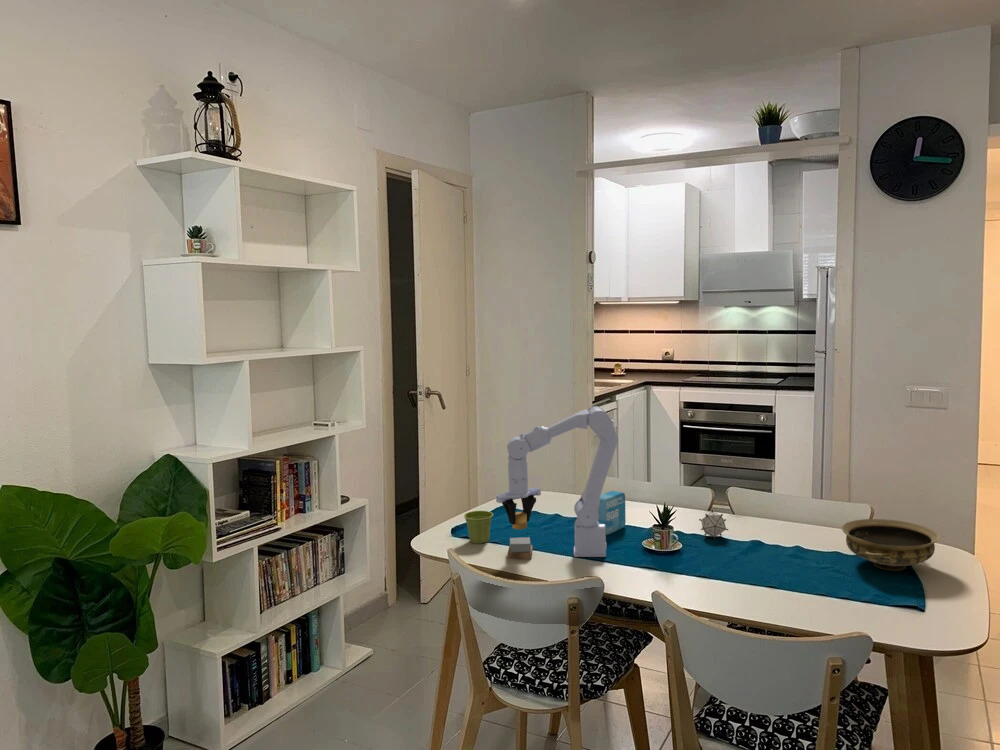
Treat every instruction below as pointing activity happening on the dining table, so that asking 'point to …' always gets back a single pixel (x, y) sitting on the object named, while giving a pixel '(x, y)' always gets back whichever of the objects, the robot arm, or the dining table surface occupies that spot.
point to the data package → (612, 511)
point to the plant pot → (478, 525)
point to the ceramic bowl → (890, 542)
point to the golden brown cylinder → (520, 520)
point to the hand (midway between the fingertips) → (519, 522)
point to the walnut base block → (520, 554)
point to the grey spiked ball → (713, 524)
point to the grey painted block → (520, 544)
